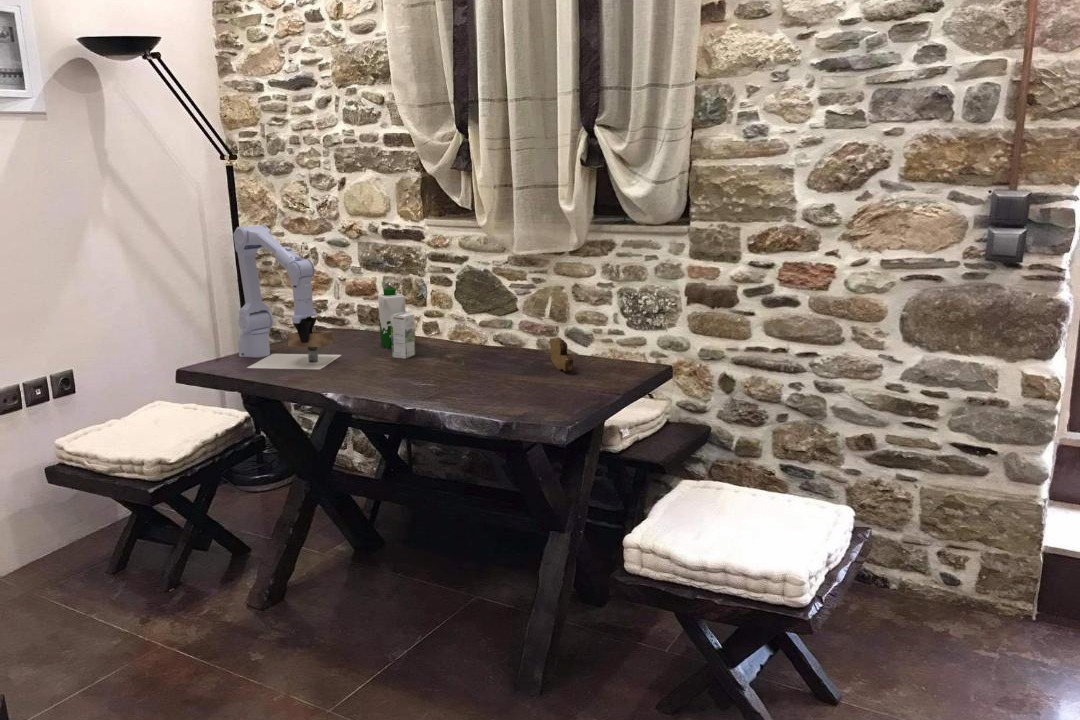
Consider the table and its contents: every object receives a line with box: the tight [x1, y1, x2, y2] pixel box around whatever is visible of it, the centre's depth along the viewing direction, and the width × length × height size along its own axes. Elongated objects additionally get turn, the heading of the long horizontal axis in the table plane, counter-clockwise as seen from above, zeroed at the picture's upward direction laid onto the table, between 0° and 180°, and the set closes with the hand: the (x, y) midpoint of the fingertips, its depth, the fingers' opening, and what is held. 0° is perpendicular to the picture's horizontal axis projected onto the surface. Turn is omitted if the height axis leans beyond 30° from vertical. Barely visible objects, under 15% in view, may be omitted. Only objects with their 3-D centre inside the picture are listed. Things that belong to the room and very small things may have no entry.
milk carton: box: [377, 287, 407, 350], centre depth 307 cm, size 9×9×20 cm
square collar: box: [287, 330, 335, 348], centre depth 281 cm, size 11×11×4 cm
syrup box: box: [391, 312, 416, 359], centre depth 291 cm, size 6×6×14 cm
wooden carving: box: [548, 336, 574, 372], centre depth 273 cm, size 16×5×10 cm, turn 23°
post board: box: [246, 347, 342, 370], centre depth 283 cm, size 24×20×6 cm
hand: (306, 341), depth 276 cm, fingers closed on square collar, 2 cm apart
